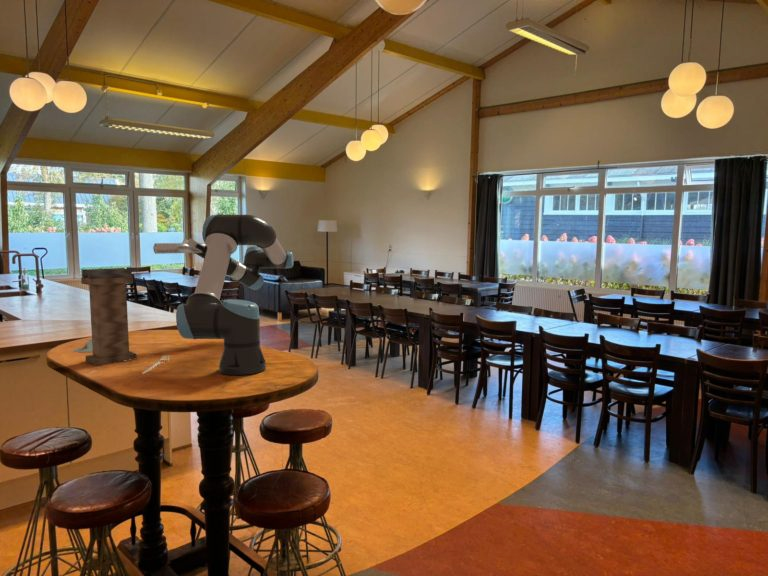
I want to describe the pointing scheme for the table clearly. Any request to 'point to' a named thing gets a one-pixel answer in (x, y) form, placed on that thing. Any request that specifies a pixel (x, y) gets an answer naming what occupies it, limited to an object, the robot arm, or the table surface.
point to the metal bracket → (85, 347)
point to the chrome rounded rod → (174, 248)
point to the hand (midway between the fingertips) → (186, 241)
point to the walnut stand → (108, 314)
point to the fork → (155, 364)
